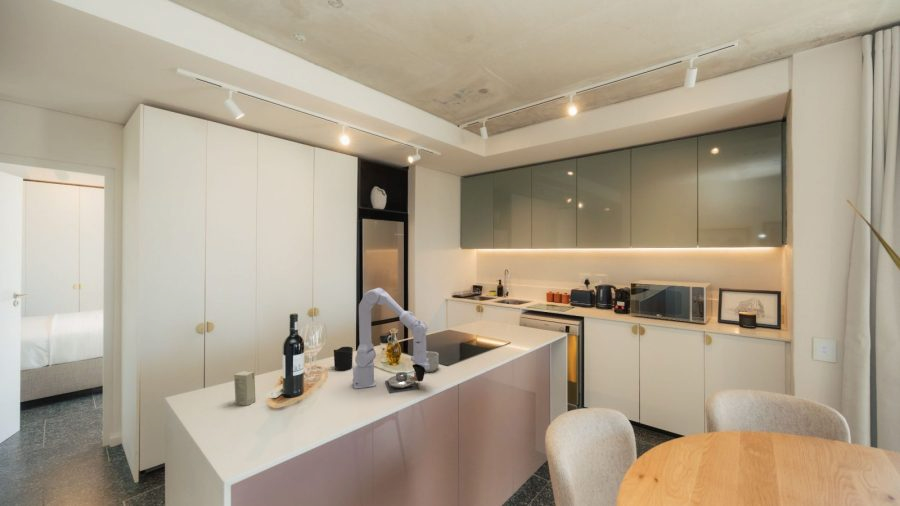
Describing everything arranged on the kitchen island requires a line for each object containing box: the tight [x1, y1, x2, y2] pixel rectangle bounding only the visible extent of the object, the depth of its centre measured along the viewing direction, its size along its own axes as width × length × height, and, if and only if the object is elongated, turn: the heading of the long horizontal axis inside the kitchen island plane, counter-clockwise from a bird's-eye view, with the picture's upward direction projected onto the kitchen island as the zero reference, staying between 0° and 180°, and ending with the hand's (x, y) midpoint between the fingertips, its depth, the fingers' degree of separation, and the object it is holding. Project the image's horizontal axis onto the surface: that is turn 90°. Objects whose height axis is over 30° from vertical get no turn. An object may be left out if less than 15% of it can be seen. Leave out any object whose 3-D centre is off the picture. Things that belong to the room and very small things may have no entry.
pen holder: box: [333, 346, 354, 372], centre depth 183 cm, size 9×9×10 cm
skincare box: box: [233, 370, 257, 406], centre depth 143 cm, size 6×4×12 cm
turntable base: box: [384, 379, 420, 394], centre depth 160 cm, size 13×13×1 cm
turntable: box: [387, 372, 418, 388], centre depth 160 cm, size 15×12×3 cm
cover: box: [395, 371, 408, 382], centre depth 159 cm, size 5×5×3 cm
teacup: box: [425, 350, 440, 373], centre depth 181 cm, size 14×11×8 cm
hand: (420, 380), depth 157 cm, fingers closed
